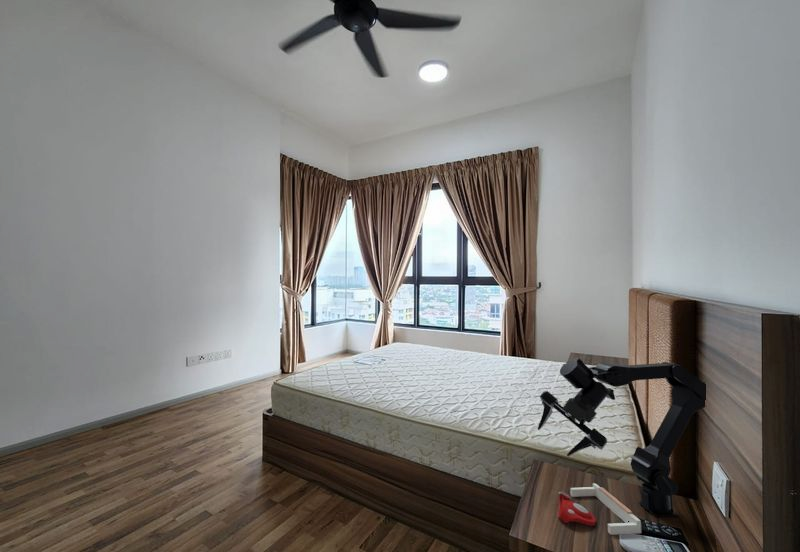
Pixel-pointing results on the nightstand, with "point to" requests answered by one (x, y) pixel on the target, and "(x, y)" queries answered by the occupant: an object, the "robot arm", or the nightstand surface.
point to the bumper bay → (615, 506)
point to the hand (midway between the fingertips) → (552, 442)
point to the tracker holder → (574, 511)
